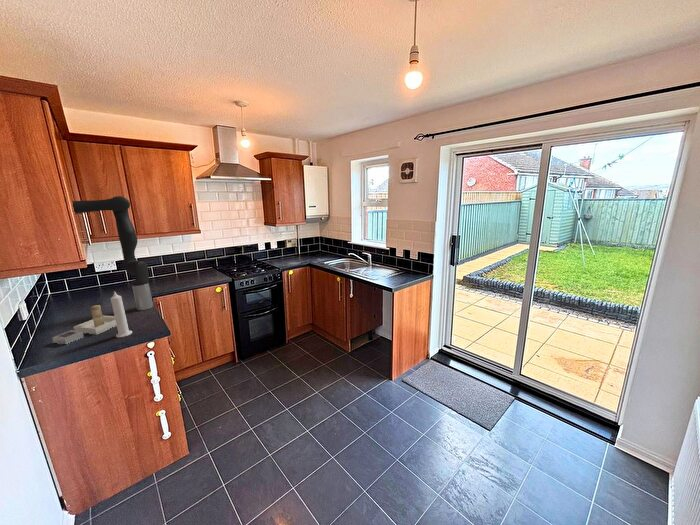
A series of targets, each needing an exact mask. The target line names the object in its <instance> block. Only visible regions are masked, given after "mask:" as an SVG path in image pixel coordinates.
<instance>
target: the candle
mask: <svg viewBox="0 0 700 525" xmlns="http://www.w3.org/2000/svg"><path fill="white" fill-rule="evenodd" d="M110 302H111V306H112V311H113V316H115V320H116V324H117V326H116V328H117V332H118V333H116V335H115V337H116V338H118V339H119V338H125V337H127V336H131V335H132V334H133V331H132V330H130V329H129V325H128V321H127V320H128V319H127V316H126V312H125V307H124V303H123V298H122V295H120V294H119V295H118V294H117V292H116V291H113V295H112V296H111V297H110Z"/></svg>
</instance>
